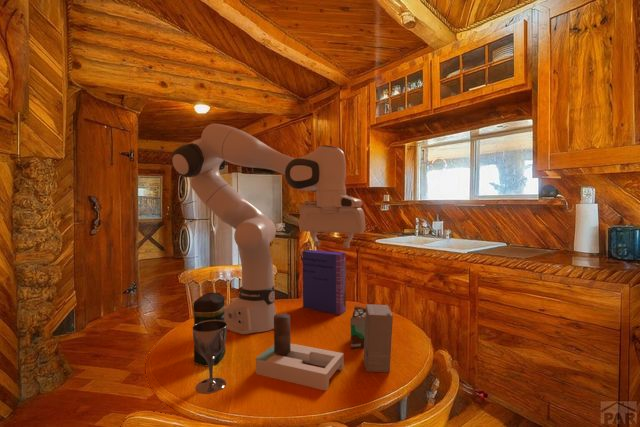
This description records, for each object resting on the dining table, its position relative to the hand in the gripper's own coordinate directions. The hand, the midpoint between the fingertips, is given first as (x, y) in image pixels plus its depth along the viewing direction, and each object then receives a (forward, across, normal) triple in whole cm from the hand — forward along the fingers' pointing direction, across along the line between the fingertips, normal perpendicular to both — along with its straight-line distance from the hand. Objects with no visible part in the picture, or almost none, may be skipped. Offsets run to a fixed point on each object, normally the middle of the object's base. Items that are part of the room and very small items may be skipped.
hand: (331, 247), depth 102 cm
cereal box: (+31, -17, +33) cm, 49 cm away
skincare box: (+31, +15, -4) cm, 35 cm away
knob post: (+31, -8, -15) cm, 36 cm away
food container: (+31, +7, +8) cm, 33 cm away
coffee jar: (+31, -30, -19) cm, 47 cm away
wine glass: (+31, -20, -30) cm, 48 cm away
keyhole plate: (+31, -3, -15) cm, 35 cm away
